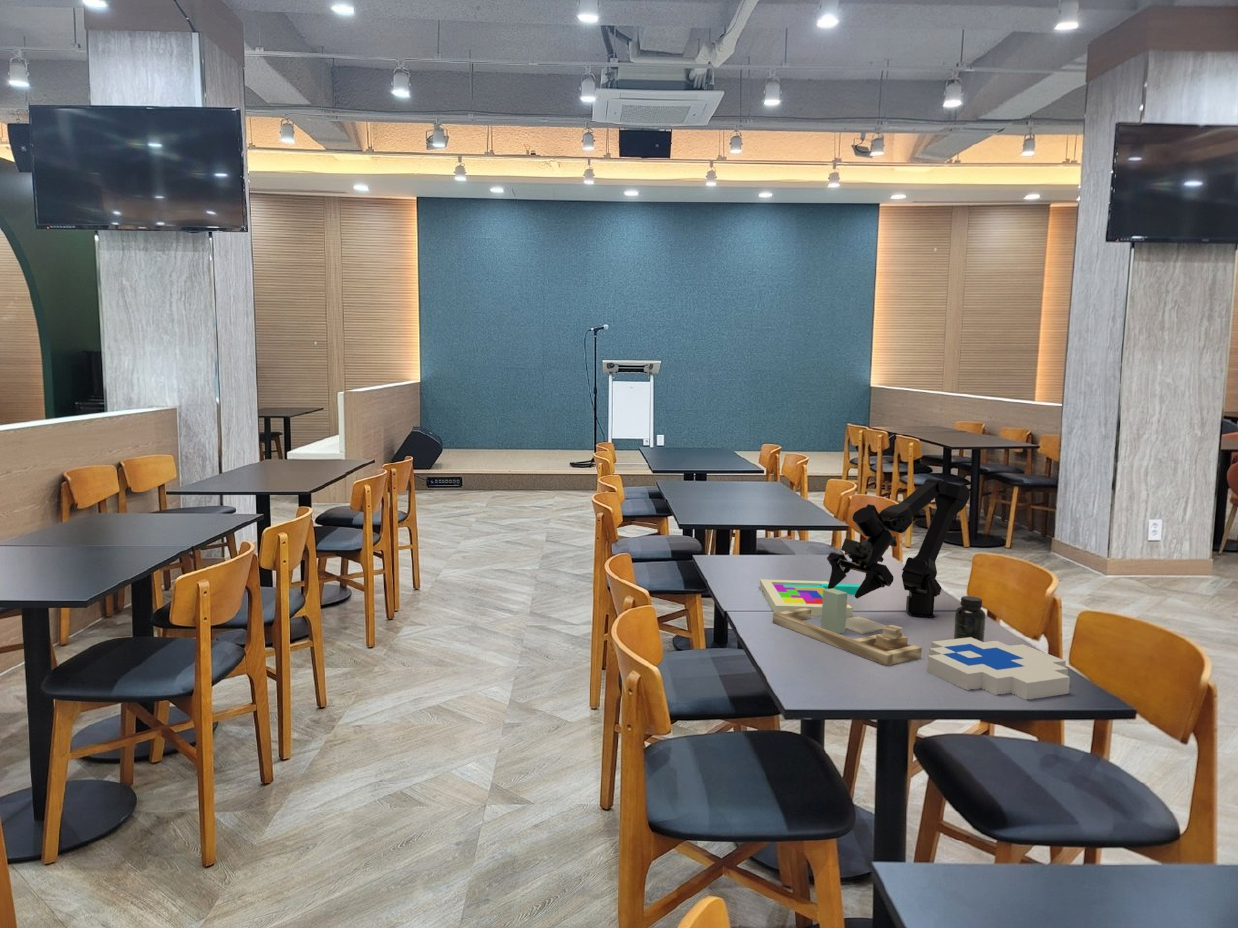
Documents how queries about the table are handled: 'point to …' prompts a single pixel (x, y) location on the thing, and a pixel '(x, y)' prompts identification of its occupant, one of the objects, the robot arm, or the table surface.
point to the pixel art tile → (998, 668)
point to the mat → (863, 625)
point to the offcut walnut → (888, 648)
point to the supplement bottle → (970, 619)
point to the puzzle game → (801, 594)
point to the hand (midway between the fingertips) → (842, 593)
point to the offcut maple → (892, 631)
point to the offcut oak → (891, 641)
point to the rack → (844, 639)
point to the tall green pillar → (834, 610)
